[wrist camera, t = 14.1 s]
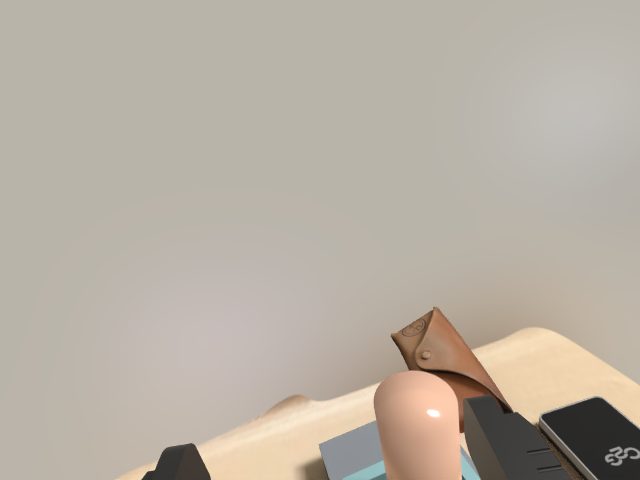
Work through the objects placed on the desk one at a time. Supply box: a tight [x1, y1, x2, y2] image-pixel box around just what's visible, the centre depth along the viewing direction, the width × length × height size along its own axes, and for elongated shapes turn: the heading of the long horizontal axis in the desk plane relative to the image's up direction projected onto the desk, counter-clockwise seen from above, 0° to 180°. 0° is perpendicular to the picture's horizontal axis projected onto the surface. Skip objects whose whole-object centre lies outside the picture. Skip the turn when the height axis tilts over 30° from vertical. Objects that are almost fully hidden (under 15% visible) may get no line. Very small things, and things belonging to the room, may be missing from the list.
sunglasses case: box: [391, 307, 514, 433], centre depth 43 cm, size 18×7×7 cm
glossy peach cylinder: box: [374, 371, 462, 480], centre depth 24 cm, size 5×5×13 cm
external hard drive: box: [539, 396, 640, 480], centre depth 30 cm, size 7×11×2 cm, turn 10°
